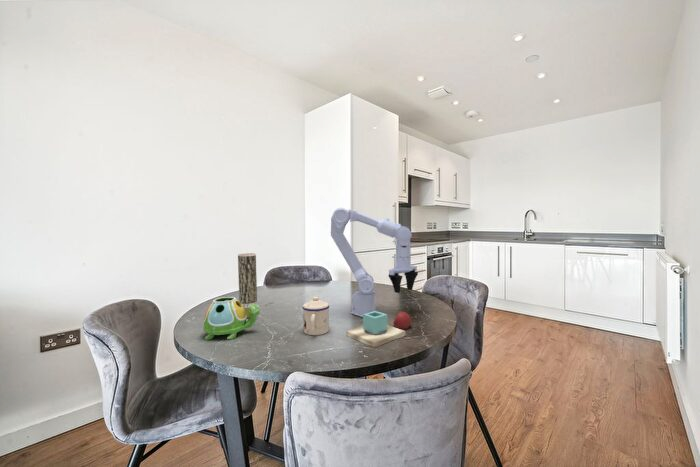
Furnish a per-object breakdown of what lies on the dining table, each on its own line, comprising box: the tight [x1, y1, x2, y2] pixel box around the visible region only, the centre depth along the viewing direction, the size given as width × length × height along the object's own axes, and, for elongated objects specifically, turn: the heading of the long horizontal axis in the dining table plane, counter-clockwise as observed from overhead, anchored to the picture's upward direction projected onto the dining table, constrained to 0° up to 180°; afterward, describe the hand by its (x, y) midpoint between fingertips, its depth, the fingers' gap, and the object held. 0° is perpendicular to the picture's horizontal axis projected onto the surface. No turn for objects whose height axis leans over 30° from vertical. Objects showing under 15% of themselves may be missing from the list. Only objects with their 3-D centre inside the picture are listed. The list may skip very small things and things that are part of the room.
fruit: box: [392, 311, 418, 330], centre depth 104 cm, size 6×6×8 cm
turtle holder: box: [202, 296, 261, 340], centre depth 101 cm, size 12×18×12 cm
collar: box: [362, 310, 389, 334], centre depth 97 cm, size 6×6×5 cm
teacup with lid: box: [302, 296, 330, 336], centre depth 100 cm, size 12×9×12 cm
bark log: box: [237, 252, 258, 319], centre depth 120 cm, size 7×7×25 cm
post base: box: [346, 324, 406, 348], centre depth 97 cm, size 13×14×6 cm
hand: (403, 291), depth 118 cm, fingers open, 7 cm apart
